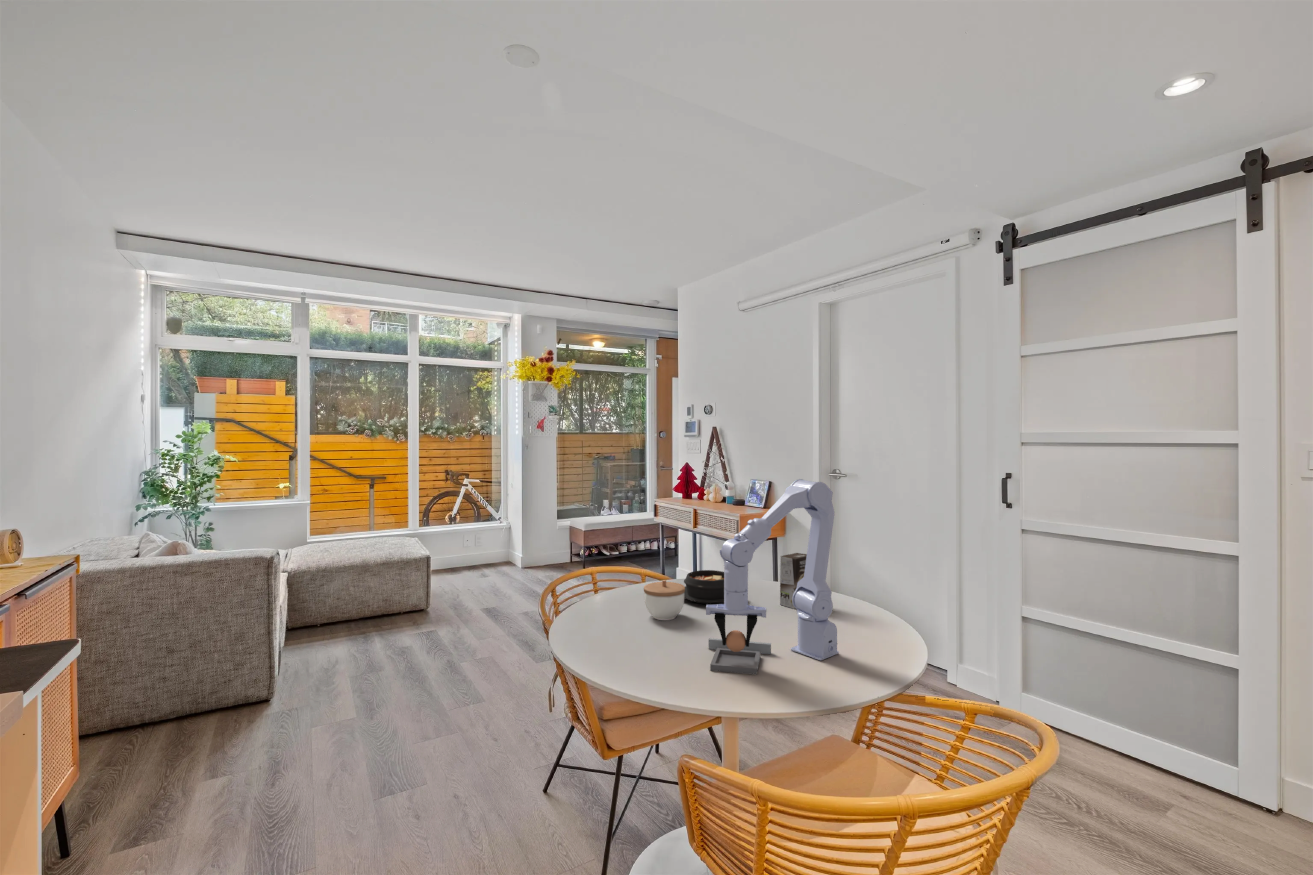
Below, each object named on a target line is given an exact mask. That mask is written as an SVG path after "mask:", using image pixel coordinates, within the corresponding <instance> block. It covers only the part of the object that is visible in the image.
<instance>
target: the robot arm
mask: <svg viewBox="0 0 1313 875" xmlns="http://www.w3.org/2000/svg"><path fill="white" fill-rule="evenodd" d="M833 494H834V493H833V490H831V489H830V487H829V486H828V485H827V484H826V483H825V482H823V481H812V480H805V479H803V478H799V479H796V480H793V482H792V483H790V485H789V486H787V487H786V488H785V490H784V493H783V494H782V495H781V496H780V497H779V498H778V500H776V501H775V503H774V504H773V505H772V506H771V507H770V508H769V509H768V510H767V511H766V513H764V514H763V516H762V517H760V518H758V517H754V518H753V519H749V520H748V521H747V522H746V523H747V525H745V527H743V528H742V530H740V531H739V532H738V533H735V534H734V535H733V538H729V539H727V540H725V541H724V543H723V544H722V546H721V549H720V550H719V556H720V557H721V559H722V560H723V566H724V567H723V568H724V571H723V572H724V603H720V604H705V605H706V606H705V615H706V616H708V615H709V616H710V615H714V621H715V623H716V626H717V627H718V630H719V634H720V637H721V639H722V643H723V645H726V636H727V634H726V633H727V632H726V615H727V616H741V617H743V616H744V617H746V636H745V638H746V647H749V642H751V641H750V640H751V637H752V634H753V631H754V629H755V627H756V625H757V622H758V617H761V618H765V619H766V618H767V607H763V606H755V605H750V604H749V601H748V600H749V596H748V595H749V572H748V571H749V567H748V566H749V563H751V562H752V560H753V557H754V553H755V552H756V550H757V549H758V548H759V547H760V546H762V545H763V543H765V541H767V539H768V538H770V537H771V535H772V528H773V527H774V526H776V525H777V524H778V523H779V522H780V521H782V519H784V518H785V517H786V516H787V515H788V514H790V513H791V512H792V511H793V510H796V509H804V510H805V511H806V512H807V514H808V515H810V517H811V521H810V529H809V535H808V537H809V538H808V544H807V551H806V554H807V557H806V565H805V572H804V577H803V578H802V579H801V580H800V581H798V583H797V588H796V590H795V592H794V594H793V597H792V603H793V605H794V607H795V608H796V609H795V610H796V614H797V645H795V646H792V647H790V651H793V652H796V653H798V654H801V655H804V656H807V657H809V658H812V659H815V660H818V661H823V660H825V659H828V658H830V657H833V656H835V655H838V654H839V653H840V652H839V650H838V628H837V625H836V624H835V622H832V621H830V619H829V617H831V614H832V612H833V609H834V605H833V604H834V603H833V600H832V593H833V591H832V590H831V588H830V586H829V584H828V583H827V575H828V574H827V572H828V566H829V560H830V550H831V541H832V534H833V527H834V520H835V509H834V505H833V501H832V500H833Z"/></svg>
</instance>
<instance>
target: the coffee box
mask: <svg viewBox="0 0 1313 875" xmlns="http://www.w3.org/2000/svg"><path fill="white" fill-rule="evenodd" d="M806 557H807V553H800V552H794V553H790V554H789V553H788V554H784V555H780V565H779V568H780V569H779V570H780V572H779V573H780V574H779V584H780V585H779V605H780V606H784V607H787V608H790V609H793V610H797V609H796V608H795V607H794V605H793V603H792V597H793V594H794V592H795V590H796V588H797V583H798V581H800V580H801V579H802V578H803V577H804V572H805V565H806Z"/></svg>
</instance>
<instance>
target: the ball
mask: <svg viewBox="0 0 1313 875" xmlns="http://www.w3.org/2000/svg"><path fill="white" fill-rule="evenodd" d="M726 645H727V647H728V648H729V649H730V650H731V651H734V652H739V651H741V650H743V649H744V647H745V645H746V636H745V634H744V633H743V632H742V631H740V630H739V629H738V630H736V629H735V630H733V629H732V630H731V631H729V632H728V633H727V634H726Z"/></svg>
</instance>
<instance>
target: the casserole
mask: <svg viewBox="0 0 1313 875" xmlns="http://www.w3.org/2000/svg"><path fill="white" fill-rule="evenodd" d="M683 583H684V584H685V585H684V587H685V596H684V600H685V599H686V600H689V601H691V602H694V603H697V604H701V605H717V604H724V571H721V570H713V569H707V570H706V569H703V570H702V569H701V570H695V571H691V572H689V573H687V574H686V577H685V579H684V580H683Z"/></svg>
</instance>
